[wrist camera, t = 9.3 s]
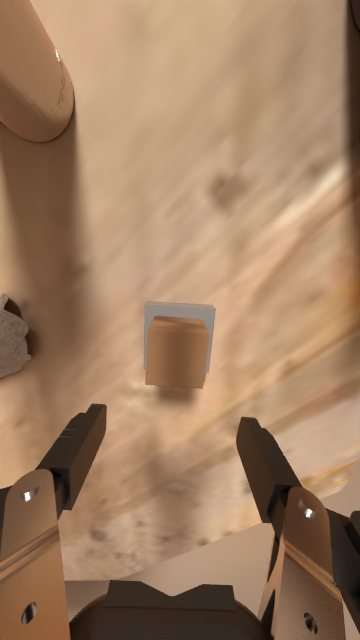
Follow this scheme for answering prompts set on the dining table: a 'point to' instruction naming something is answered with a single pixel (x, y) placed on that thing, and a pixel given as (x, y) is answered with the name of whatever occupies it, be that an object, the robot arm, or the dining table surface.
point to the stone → (12, 341)
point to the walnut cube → (176, 352)
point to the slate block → (181, 312)
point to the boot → (356, 11)
